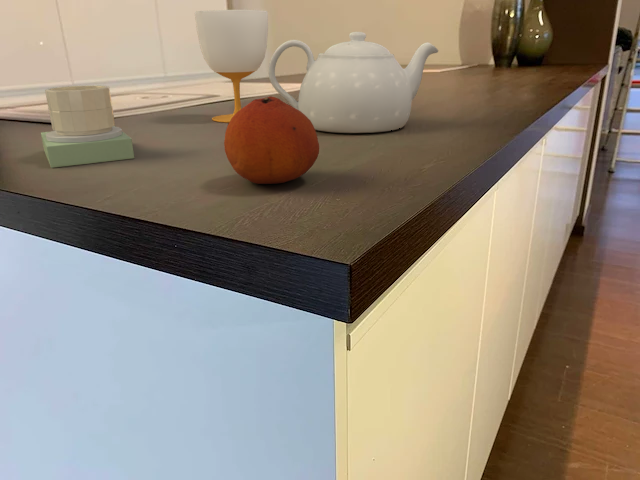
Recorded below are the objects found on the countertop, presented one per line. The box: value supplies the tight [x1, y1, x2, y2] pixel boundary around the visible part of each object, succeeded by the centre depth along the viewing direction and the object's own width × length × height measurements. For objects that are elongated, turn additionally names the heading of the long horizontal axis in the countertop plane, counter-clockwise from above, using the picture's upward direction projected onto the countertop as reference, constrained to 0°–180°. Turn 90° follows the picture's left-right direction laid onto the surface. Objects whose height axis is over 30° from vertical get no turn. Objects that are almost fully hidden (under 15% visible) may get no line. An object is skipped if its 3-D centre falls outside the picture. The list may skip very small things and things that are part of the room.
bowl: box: [44, 84, 116, 136], centre depth 63 cm, size 7×7×5 cm
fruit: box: [223, 95, 320, 185], centre depth 51 cm, size 9×9×8 cm
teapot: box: [267, 31, 439, 134], centre depth 81 cm, size 19×18×14 cm
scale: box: [40, 125, 135, 169], centre depth 65 cm, size 11×9×3 cm
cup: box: [194, 9, 269, 124], centre depth 90 cm, size 12×12×17 cm
